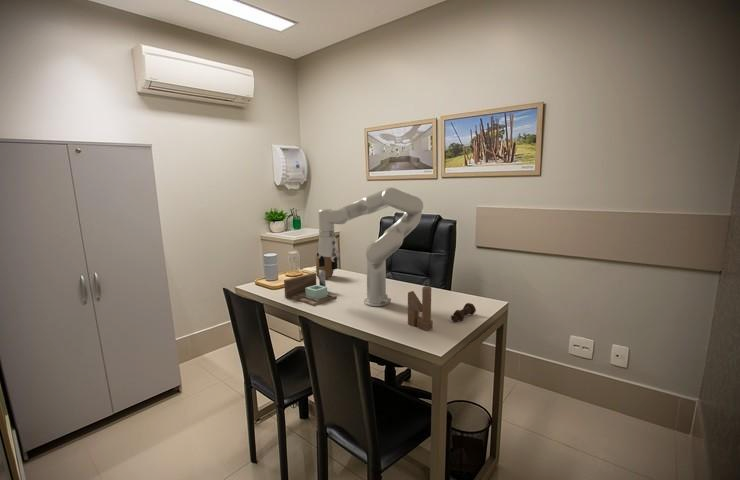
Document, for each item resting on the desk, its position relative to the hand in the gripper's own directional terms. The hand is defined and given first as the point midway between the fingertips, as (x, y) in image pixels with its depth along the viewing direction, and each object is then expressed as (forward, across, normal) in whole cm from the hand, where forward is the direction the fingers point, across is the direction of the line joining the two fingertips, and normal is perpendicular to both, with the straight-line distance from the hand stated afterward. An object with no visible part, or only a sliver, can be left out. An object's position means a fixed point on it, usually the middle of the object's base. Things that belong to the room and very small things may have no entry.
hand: (328, 267), depth 180 cm
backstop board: (+18, +15, +1) cm, 23 cm away
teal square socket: (+17, +10, 0) cm, 20 cm away
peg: (+18, +18, -10) cm, 28 cm away
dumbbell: (+19, -61, -26) cm, 69 cm away
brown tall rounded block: (+18, +40, -31) cm, 54 cm away
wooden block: (+19, -52, -6) cm, 56 cm away
